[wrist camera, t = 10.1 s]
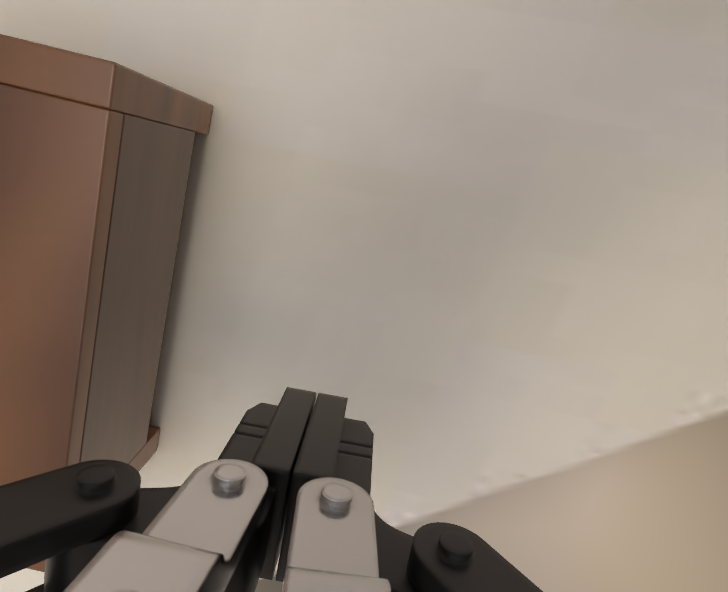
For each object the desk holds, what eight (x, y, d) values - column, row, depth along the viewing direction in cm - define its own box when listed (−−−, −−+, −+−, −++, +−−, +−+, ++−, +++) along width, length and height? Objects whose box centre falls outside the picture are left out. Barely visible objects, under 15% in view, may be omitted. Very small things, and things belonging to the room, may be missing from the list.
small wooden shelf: (213, 105, 21) (115, 62, 13) (156, 450, 25) (53, 575, 17) (-28, 46, 21) (-269, -33, 13) (-51, 402, 25) (-251, 505, 17)
